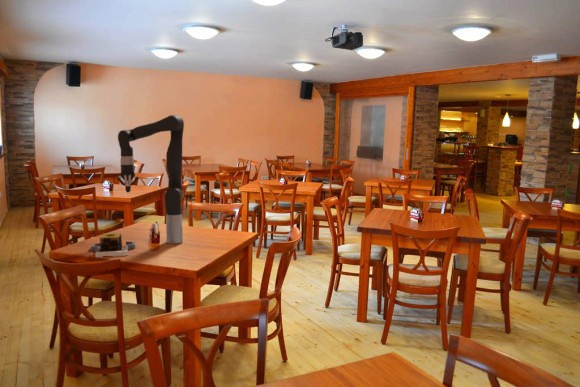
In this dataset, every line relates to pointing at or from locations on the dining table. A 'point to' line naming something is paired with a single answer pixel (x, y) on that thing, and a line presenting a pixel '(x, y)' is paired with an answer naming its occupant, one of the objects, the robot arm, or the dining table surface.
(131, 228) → the dining table surface
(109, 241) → the candle
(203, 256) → the dining table surface
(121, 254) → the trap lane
